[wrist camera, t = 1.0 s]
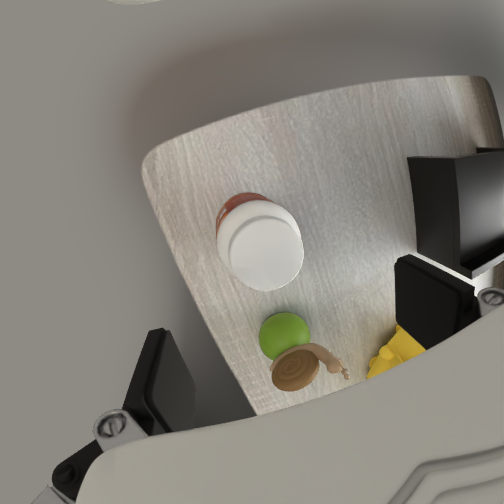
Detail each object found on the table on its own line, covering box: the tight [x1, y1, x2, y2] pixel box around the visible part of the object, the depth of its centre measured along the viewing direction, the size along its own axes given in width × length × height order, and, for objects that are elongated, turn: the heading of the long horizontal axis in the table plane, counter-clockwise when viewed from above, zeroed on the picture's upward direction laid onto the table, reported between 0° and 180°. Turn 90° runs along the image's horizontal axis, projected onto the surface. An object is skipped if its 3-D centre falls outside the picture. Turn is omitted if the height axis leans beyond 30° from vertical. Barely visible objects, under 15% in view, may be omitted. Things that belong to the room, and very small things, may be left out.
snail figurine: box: [259, 312, 350, 392], centre depth 26 cm, size 5×6×12 cm
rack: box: [407, 147, 504, 280], centre depth 25 cm, size 12×16×10 cm
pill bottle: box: [216, 193, 304, 291], centre depth 22 cm, size 6×6×11 cm
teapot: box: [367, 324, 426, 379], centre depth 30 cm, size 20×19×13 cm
